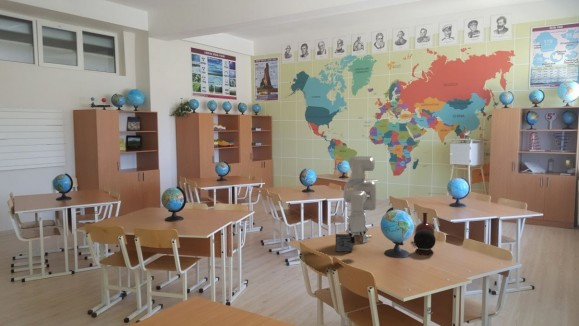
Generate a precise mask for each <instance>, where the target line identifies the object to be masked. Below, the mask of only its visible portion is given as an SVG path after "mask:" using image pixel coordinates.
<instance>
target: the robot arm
mask: <svg viewBox="0 0 579 326" xmlns="http://www.w3.org/2000/svg"><path fill="white" fill-rule="evenodd" d="M375 161H376V160H375V158H374V157H373V156H370V155H369V156H365V155H364V156H363V155H360V156H359V155H356V156H355V155H354V156H350V157H349V158H348V165H349V168H350V171H351V175H350V176H351V177H350V178H349V179H348V180H347V181H346V182H345V184H344V187H343V201H344V202H345V203H348V204H349V203H350V214H349V215H348V221H347V229H346V230H345V234H349V235H350V236H351V243H352V245H354V235H355V234H359V235H361V236H363V244H365V243H368V239H372V238H373V237H372V235H370V234H369V235H368V234H366V233H367V232H369V229H368V227H367V225H366V214H365V213H366V211H369V212H370V211H375V210H376V208H377V186H376V183H375V181H372V180H366V173H365V172H373V171H374V169H375V164H376V163H375ZM350 188H352V190H349V189H350Z"/></svg>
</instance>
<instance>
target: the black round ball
mask: <svg viewBox="0 0 579 326" xmlns="http://www.w3.org/2000/svg"><path fill="white" fill-rule="evenodd" d="M436 241H437V240H436V236H435V234H433V233H432V232H431V231H429V230H426V229H422V230H419V231H417V232H416V234H415V233H414V235H413V243H414V245H415V247H416V249H415V251H414V253H415V254H416V255H420V256H421V255H422V256H433V255H434V253H435V252H434V251H433V249H432V248H434V246H435V244H436Z"/></svg>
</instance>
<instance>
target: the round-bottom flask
mask: <svg viewBox="0 0 579 326" xmlns="http://www.w3.org/2000/svg"><path fill="white" fill-rule="evenodd" d="M427 221H428V212H422V222H420V223H419V224H417V225H416V226H415V229H414V235H415V234H416V232H417V231H419V230H422V229H426V230H429V231H431V232H432V233H433V234H434V235H435V234H436V233H435V229H434V227H433V225H432V224H431V223H428V222H427Z"/></svg>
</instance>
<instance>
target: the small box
mask: <svg viewBox="0 0 579 326" xmlns="http://www.w3.org/2000/svg"><path fill="white" fill-rule="evenodd" d="M335 253H353V243H351V236H350V235H349V234H348V233H344V234H343V233H336V234H335Z"/></svg>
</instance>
